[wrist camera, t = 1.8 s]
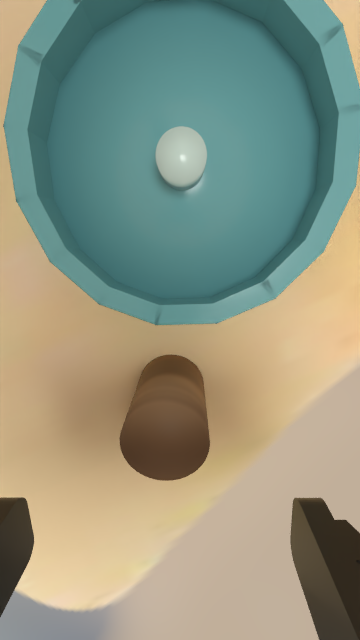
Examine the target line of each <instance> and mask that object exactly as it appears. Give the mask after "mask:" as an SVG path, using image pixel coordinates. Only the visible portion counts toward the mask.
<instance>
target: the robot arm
mask: <svg viewBox="0 0 360 640" xmlns="http://www.w3.org/2000/svg"><path fill="white" fill-rule="evenodd" d="M291 525H292V526H291V550H292V556H293V561H294V564H295V567H296V571H297V574H298V577H299V580H300V583H301V586H302V589H303V592H304V595H305V598H306V601H307V604H308V607H309V610H310V613H311V616H312V619H313V622H314V625H315V628H316V631H317V634H318V637H319V640H360V533H359V532H358V531H357V530H356V529H355V528H354V527H353V526H352V525H351V524H349V523H348V522H347V521H346V520H334V518H333V516H332V514H331V512H330V511H329V509H328V507H327V505H326V503H325V502H324V500H323V499H321V498H295V499H294V500H293V510H292V524H291ZM33 545H34V535H33V530H32V525H31V520H30V514H29V509H28V504H27V501H26V499H25V498H0V617H1V615H2V613H3V611H4V609H5V607H6V605H7V603H8V601H9V599H10V597H11V595H12V593H13V591H14V589H15V588H16V586H17V584H18V582H19V580H20V578H21V576H22V574H23V572H24V570H25V568H26V566H27V564H28V562H29V560H30V557H31V554H32V550H33Z"/></svg>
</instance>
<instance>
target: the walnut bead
mask: <svg viewBox="0 0 360 640" xmlns="http://www.w3.org/2000/svg"><path fill="white" fill-rule="evenodd" d="M120 447H121V451H122V454H123V456H124V458H125V459H126V461H127V462H128V463H129V465H130V466H131V467H132V468H134V469H135V470H136V471H137V472H139V473H140V474H142V475H144V476H146V477H149V478H152V479H156V480H176V479H180V478H184V477H186V476H188V475H190V474H192V473H193V472H195V471H196V470H197V469H198V468H199V467H200V466H201V465H202V464H203V463H204V461H205V459H206V457H207V455H208V452H209V447H210V440H209V430H208V421H207V411H206V402H205V393H204V383H203V377H202V374H201V372H200V370H199V369H198V368H197V366H196V365H195V364H194V363H193V362H191V361H190V360H188V359H186V358H184V357H181V356H177V355H165V356H161V357H158V358H156V359H154V360H152V361H151V362H150V363H149V364H148V365H147V366H146V367H145V368H144V370H143V372H142V374H141V377H140V380H139V383H138V385H137V388H136V391H135V394H134V397H133V399H132V402H131V405H130V408H129V411H128V413H127V416H126V419H125V422H124V424H123V427H122V430H121V434H120Z"/></svg>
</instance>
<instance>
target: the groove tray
mask: <svg viewBox="0 0 360 640" xmlns="http://www.w3.org/2000/svg"><path fill="white" fill-rule="evenodd" d="M3 127H4V130H5V136H6V142H7V148H8V154H9V160H10V166H11V172H12V178H13V184H14V190H15V196H16V202H17V203H18V205H19V206H20V208H21V210H22V212H23V214H24V215H25V217H26V219H27V221H28V223H29V224H30V226H31V228H32V230H33V232H34V233H35V235H36V237H37V239H38V241H39V242H40V244H41V246H42V248H43V250H44V252H45V253H46V255H47V257H48V259H49V261H50V262H51V263H52V264H53V265H54V266H56V267H57V268H58V269H59V270H60V271H61V272H63V273H64V274H65V275H66V276H67V277H68V278H69V279H71V280H72V281H73V282H74V283H75V284H76V285H78V286H79V287H80V288H81V289H82V290H83V291H84V292H86V293H87V294H88V295H89V296H90V297H91V298H93V299H94V300H95V301H96V302H97V303H98V304H99V305H103V306H106V307H108V308H111V309H114V310H117V311H119V312H122V313H125V314H128V315H130V316H133V317H136V318H139V319H141V320H144V321H147V322H150V323H152V324H155V325H175V324H211V323H216V324H217V323H219V322H221V321H224V320H226V319H228V318H231V317H233V316H235V315H238V314H240V313H242V312H245V311H247V310H249V309H252V308H254V307H256V306H259V305H261V304H263V303H266V302H268V301H270V300H273V299H275V298H276V297H277V296H278V295H279V294H280V293H281V292H282V291H283V290H284V289H285V288H286V287H287V286H288V285H289V284H290V283H292V282H293V281H294V280H295V279H296V278H297V277H298V276H299V275H300V274H301V273H302V272H303V271H304V270H305V269H306V268H307V267H308V266H309V265H310V264H311V263H312V262H313V261H314V260H315V259H316V258H317V257H319V256H320V255H321V254H322V253H323V252H324V250H325V248H326V246H327V244H328V241H329V239H330V237H331V235H332V233H333V231H334V229H335V227H336V225H337V223H338V221H339V219H340V217H341V215H342V213H343V211H344V209H345V207H346V205H347V203H348V200H349V198H350V196H351V194H352V192H353V190H354V188H355V187H356V180H357V170H358V161H359V152H360V87H359V84H358V80H357V76H356V72H355V69H354V65H353V61H352V57H351V54H350V50H349V46H348V42H347V39H346V35H345V31H344V27H343V24H342V23H341V22H340V20H339V19H338V18H337V17H336V15H335V14H334V13H333V12H332V10H331V9H330V8H329V7H328V5H327V4H326V3H325V2H324V0H47V1H46V3H45V4H44V6H43V8H42V9H41V11H40V12H39V14H38V16H37V17H36V19H35V20H34V22H33V23H32V25H31V27H30V28H29V30H28V31H27V33H26V35H25V36H24V38H23V39H22V41H21V42H20V44H19V45H18V51H17V56H16V62H15V67H14V72H13V78H12V83H11V89H10V94H9V99H8V105H7V110H6V116H5V121H4V126H3Z"/></svg>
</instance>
